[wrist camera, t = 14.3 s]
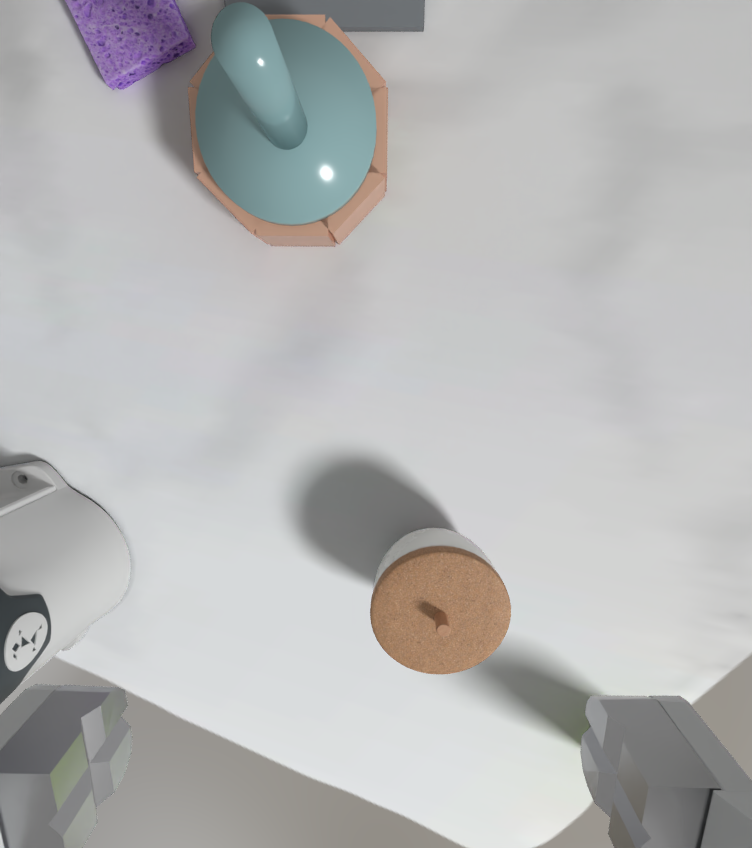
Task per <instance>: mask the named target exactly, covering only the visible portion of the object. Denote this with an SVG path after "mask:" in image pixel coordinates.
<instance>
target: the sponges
mask: <svg viewBox="0 0 752 848" xmlns="http://www.w3.org/2000/svg"><path fill="white" fill-rule="evenodd" d="M65 2H66V4H67V6H68V8H69V10H70V11H71V14H72V16H73V18H74V20H75V22H76V23H77V25H78V28H79V30H80V32H81V34H82V36H83V38H84V40H85V42H86V44H87V46H88V48H89V50H90V52H91V54H92V57H93V59H94V61H95V62H96V64H97V66H98V69H99V71H100V73H101V75H102V77H103V79H104V81H105V83H106V84H107V85H108V86H109V87H110V88H111V89H113V90H114V89H115V88H116V87H117V88H118V89H125V88H127V87H128V86H130V85H132V84H133V83H134V82H135V81H138V80H140V79H142V78H144V77H145V76H147V75H148V74H150V73H152V72H154V71H155V70H156V69H158V68H160V67H161V65H162V64H163V63H168V62H170V61H172V60H174V59H176V58H177V57H179V56H181V55H183V54H185V53H187V52H188V51H190V50H192V49H194V48H195V43H194V42H193V40H192V37H191V35H190V33H189V31H188V28H187V26H186V24H185V22H184V20H183V18H182V16H181V14H180V11H179V8H178V6H177V4H176V2H175V0H65Z"/></svg>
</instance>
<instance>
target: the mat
mask: <svg viewBox="0 0 752 848" xmlns="http://www.w3.org/2000/svg"><path fill="white" fill-rule="evenodd" d="M237 2H244V3H249V4H252V5H254V6H256V7H257V8H258V9H260V10H261V11H262V12H263V13H264V14H265V15H325V17H326V22H327V20H328V19H329V18H330V17H331V19H332V20H333V21H334V22H335V23H336V24H337V26H338V27H339V28H340V29H341V30H342V31H423V30H424V7H425V0H225V7H226V6H228V5H230V4H233V3H237Z"/></svg>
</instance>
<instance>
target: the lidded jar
mask: <svg viewBox="0 0 752 848" xmlns="http://www.w3.org/2000/svg"><path fill="white" fill-rule="evenodd" d="M370 616H371V624H372V628H373V632H374V634H375V636H376V639H377V641H378V642H379V644H380V645H381V647H382V648H383V649H384V650H385V651H386V652H387V654H388V655H389V656H391V657H392V658H393V659H394V660H396V661H397V662H399V663H400V664H402V665H404V666H406V667H407V668H410V669H413V670H416V671H419V672H423V673H428V674H450V673H456V672H460V671H463V670H466V669H469V668H471V667H473V666H475V665H477V664H479V663H480V662H482V661H484V660H485V659H486V658H488V657H489V656H490V655H491V654H492V653H493V652H494V651H495V650H496V649H497V647H498V646H499V645H500V644H501V642H502V640H503V638H504V637H505V635H506V632H507V630H508V627H509V623H510V617H511V605H510V599H509V595H508V593H507V590H506V587H505V585H504V583H503V581H502V580H501V578H500V576H499V575H498V573H497V572H496V570H495V568H494V566H493V565H492V563H491V561H490V560H489V559H488V557H487V556H486V555H485V553H484V552H483V551H482V550H481V549H480V548H479V547H478V546H477V545H476V544H475V543H474V542H472V541H471V540H470V539H468V538H467V537H465V536H463V535H461V534H459V533H457V532H454V531H452V530H448V529H444V528H425V529H420V530H416V531H414V532H411V533H409V534H407V535H405V536H403V537H402V538H401V539H399V540H398V541H397V542H396V543H394V545H393V546H392V547H391V548H390V549H389V550H388V551H387V553H386V554H385V555H384V557H383V559H382V561H381V563H380V565H379V567H378V570H377V574H376V577H375V581H374V588H373V594H372V599H371V608H370Z"/></svg>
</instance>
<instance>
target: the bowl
mask: <svg viewBox="0 0 752 848" xmlns="http://www.w3.org/2000/svg"><path fill="white" fill-rule="evenodd" d="M265 16H266V17H267V18H268V20H270V19H295V20H299V21H303V22H307V23H310V24H312V25H315V26H317V27H320V28H321V29H323V30H325V31H326V32H328V33H330V34H331V35H333V36H334V37H335V38H336V39H338V40H339V41H340V42H341V43H342V44H343V45H344V46H345V47H346V48H347V49H348V50H349V51H350V52H351V54H352V55H353V56H354V58H355V59H356V60H357V61H358V63H359V65H360V67H361V68H362V70H363V72H364V74H365V76H366V78H367V81H368V83H369V85H370V89H371V92H372V95H373V99H374V105H375V111H376V128H377V135H376V147H375V152H374V157H373V161H372V164H371V167H370V170H369V172H368V174H367V176H366V179H365V181H364V182H363V184H362V186H361V187H360V189H359V191H358V192H357V193H356V194H355V196H354V197H353V198H352V199H351V200H350V201H349V202H348V203H347V204H346V205H345V206H344V207H343V208H342V209H340V210H339V211H337V212H336V213H335V214H333V215H331V216H329V217H327V218H326V219H324V220H321V221H318V222H315V223H312V224H307V225H301V226H284V225H277V224H273V223H269V222H266V221H264V220H261V219H259V218H257V217H255V216H253V215H251V214H249V213H248V212H246V211H245V210H243V209H242V208H241V207H239V206H238V205H237V204H235V203H234V202H233V201H232V200H231V199H230V198H229V197H228V196H227V195H226V194H225V193H224V192H223V191H222V190H221V188H220V187H219V186H218V185H217V183H216V182H215V180H214V179H213V177H212V176H211V174H210V172H209V170H208V168H207V166H206V164H205V162H204V159H203V157H202V154H201V151H200V147H199V143H198V139H197V133H196V124H195V110H196V100H197V95H198V90H199V86H200V83H201V80H202V77H203V75H204V72H205V70H206V68H207V66H208V64H209V62H210V61H211V59H212V58H213V56H214V55H215V54H214V51H213V53H212V54H211V55H210V56H209V58H208V59H207V60H206V61H205V63H204V64H203V65H202V66H201V68H200V69H199V70H198V71H197V73H196V74H195V75H194V77H193V78H192V79H191V80H190V83H191V84H192V85H193V86H194V87H188V96H189V109H190V122H191V135H192V148H193V162H194V172H195V173H196V174H197V175H198V176H197V178H198V179H199V180H200V181H201V182H202V183H203V184H204V185H205V186H206V187H207V188H208V189H209V190H210V192H211V193H212V194H213V195H214V196H215V197H216V198H217V199H218V200H219V201H220V202H221V203H222V204H223V205H224V206H225V207H226V208H227V209H228V210H229V211H230V212H231V213H232V214H233V215H234V216H235V217H236V218H237V219H238V220H239V221H240V222H241V223H242V224H243V225H244V226H245V227H246V228H247V229H248V230H249V231H250V232H251V234H253V235H255V236H256V237H258V238H259V239H261V240H262V241H264V242H265V243H267V244H270V245H271V246H335V241H336V242H337V243H338V244H340V243H341V242H342V241H343V240H344V239H345V238H346V237H347V236H348V235H349V234H350V233H351V232H352V230H353V229H354V228H355V227H356V226H357V225H358V224H359V223H360V222H361V221H362V220H363V219H364V218H365V217H366V215H367V214H368V213H369V212H370V211H371V210H372V209H373V208H374V207H375V206H376V205H377V204H378V203H379V202H380V200H381V199H382V198H383V197H384V196H385V192H386V186H387V117H388V88H386V81H385V80H384V79H383V78H382V77H381V76H380V74H379V73H378V72H377V71H376V70H375V69H374V67H373V66H372V65H371V64H370V63H369V62H368V60H367V59H366V58H365V57H364V56H363V55H362V53H361V52H360V51H359V50H358V49H357V48H356V46H355V45H354V44H353V43H352V42H351V41H350V39H349V38H348V37H347V36H346V35H345V34H344V32H343V31H342V30H341V29H340V28H339V27H338V26H337V24H336V23H335V22H334V21H333V20H332V19H331V17H330V18H329V19H328V20H327V22H326V17H325V15H265Z"/></svg>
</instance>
